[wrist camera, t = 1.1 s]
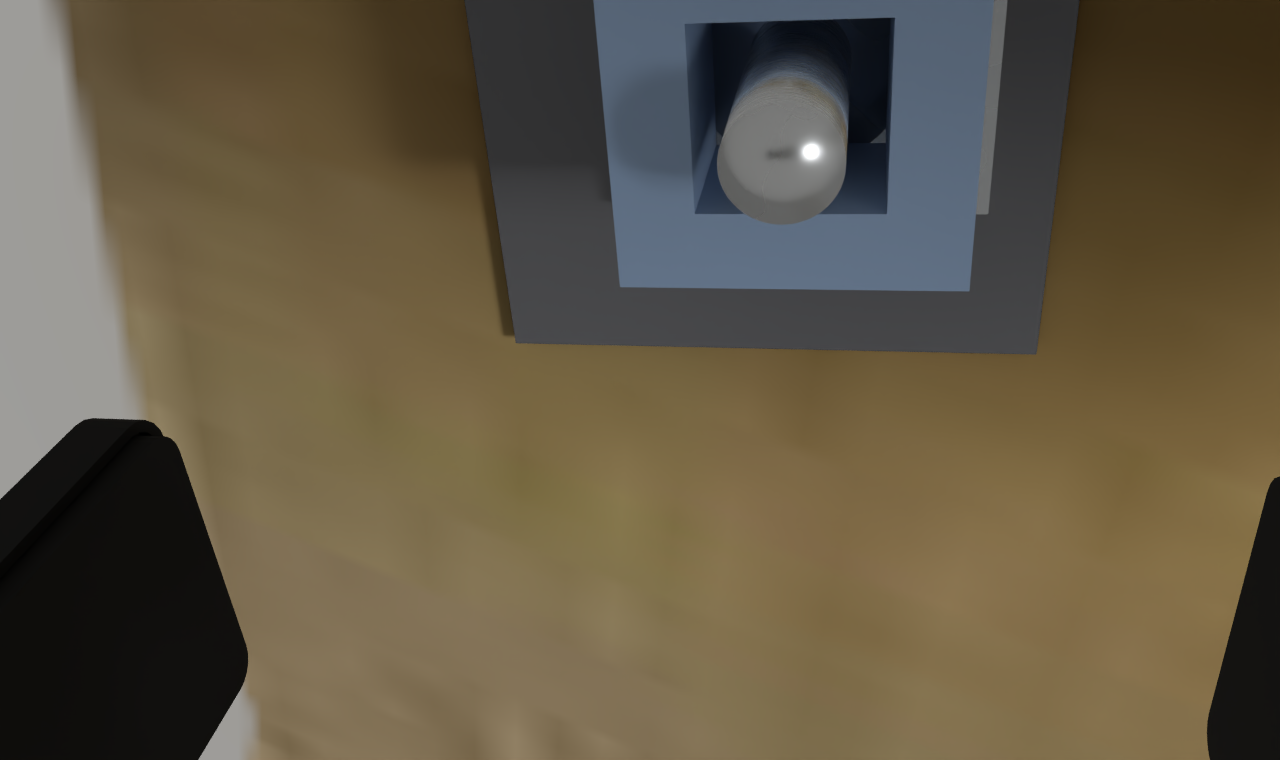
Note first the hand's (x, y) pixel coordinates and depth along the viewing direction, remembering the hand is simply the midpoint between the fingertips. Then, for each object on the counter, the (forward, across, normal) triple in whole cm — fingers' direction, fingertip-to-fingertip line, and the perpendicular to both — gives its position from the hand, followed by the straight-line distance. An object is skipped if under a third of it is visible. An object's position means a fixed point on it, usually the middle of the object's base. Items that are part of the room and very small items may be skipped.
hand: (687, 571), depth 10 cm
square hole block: (+15, 0, 0) cm, 15 cm away
